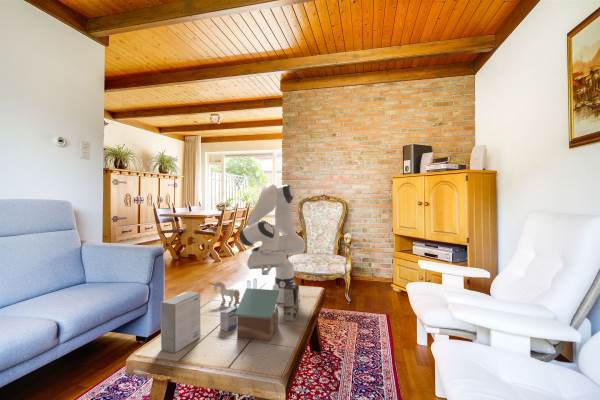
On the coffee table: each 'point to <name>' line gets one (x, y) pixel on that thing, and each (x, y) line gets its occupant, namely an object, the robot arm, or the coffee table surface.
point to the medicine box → (228, 318)
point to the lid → (257, 303)
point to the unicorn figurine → (227, 292)
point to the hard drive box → (180, 321)
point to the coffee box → (291, 302)
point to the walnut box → (257, 327)
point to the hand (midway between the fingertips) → (264, 274)
